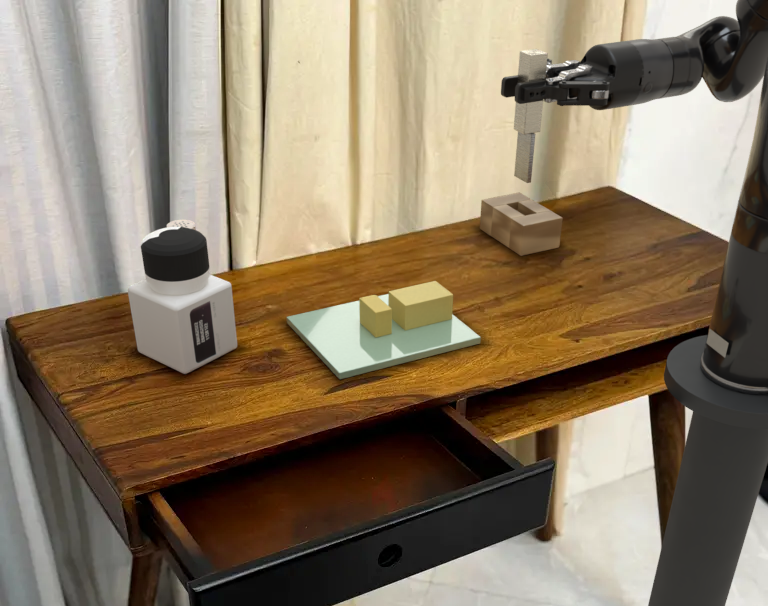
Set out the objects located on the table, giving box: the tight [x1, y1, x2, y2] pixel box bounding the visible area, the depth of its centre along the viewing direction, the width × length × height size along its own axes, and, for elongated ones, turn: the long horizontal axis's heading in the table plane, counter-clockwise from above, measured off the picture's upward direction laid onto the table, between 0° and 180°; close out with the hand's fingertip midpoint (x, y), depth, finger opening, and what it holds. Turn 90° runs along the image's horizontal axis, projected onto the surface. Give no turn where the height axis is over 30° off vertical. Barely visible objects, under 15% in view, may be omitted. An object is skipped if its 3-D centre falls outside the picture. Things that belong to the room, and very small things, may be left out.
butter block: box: [388, 280, 454, 330], centre depth 109 cm, size 4×6×3 cm, turn 117°
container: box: [127, 226, 238, 375], centre depth 102 cm, size 8×8×13 cm
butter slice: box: [358, 294, 392, 337], centre depth 107 cm, size 4×2×3 cm, turn 27°
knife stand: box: [479, 192, 564, 257], centre depth 129 cm, size 10×6×4 cm, turn 27°
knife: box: [513, 48, 549, 184], centre depth 120 cm, size 3×2×15 cm
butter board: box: [286, 293, 482, 380], centre depth 109 cm, size 14×17×1 cm
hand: (510, 90), depth 117 cm, fingers closed on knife, 2 cm apart
